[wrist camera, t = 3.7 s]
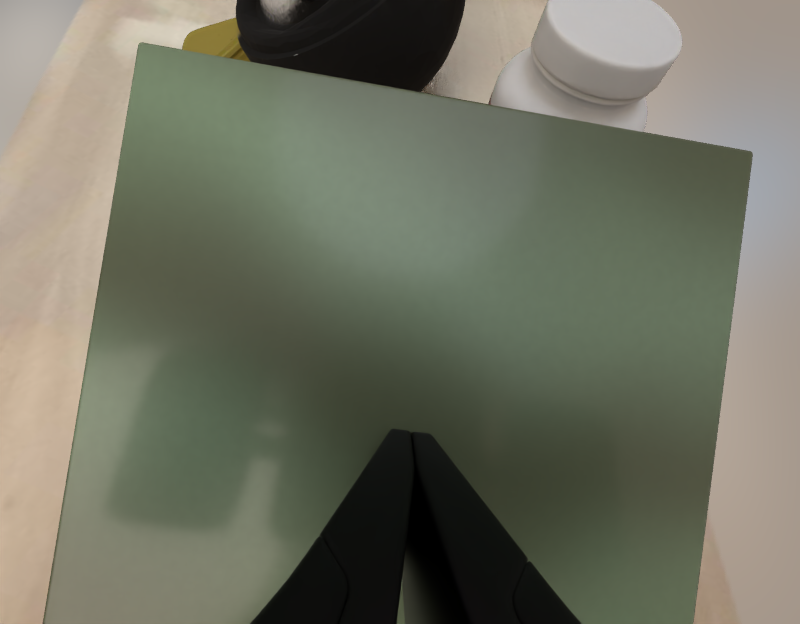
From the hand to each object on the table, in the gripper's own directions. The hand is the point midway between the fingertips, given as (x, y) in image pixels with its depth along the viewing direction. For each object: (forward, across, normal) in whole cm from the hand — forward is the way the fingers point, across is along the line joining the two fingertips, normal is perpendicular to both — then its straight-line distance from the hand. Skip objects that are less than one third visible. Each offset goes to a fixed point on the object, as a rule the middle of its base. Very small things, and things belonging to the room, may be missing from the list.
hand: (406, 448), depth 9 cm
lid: (+1, 0, -1) cm, 2 cm away
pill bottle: (+17, -5, -3) cm, 18 cm away
